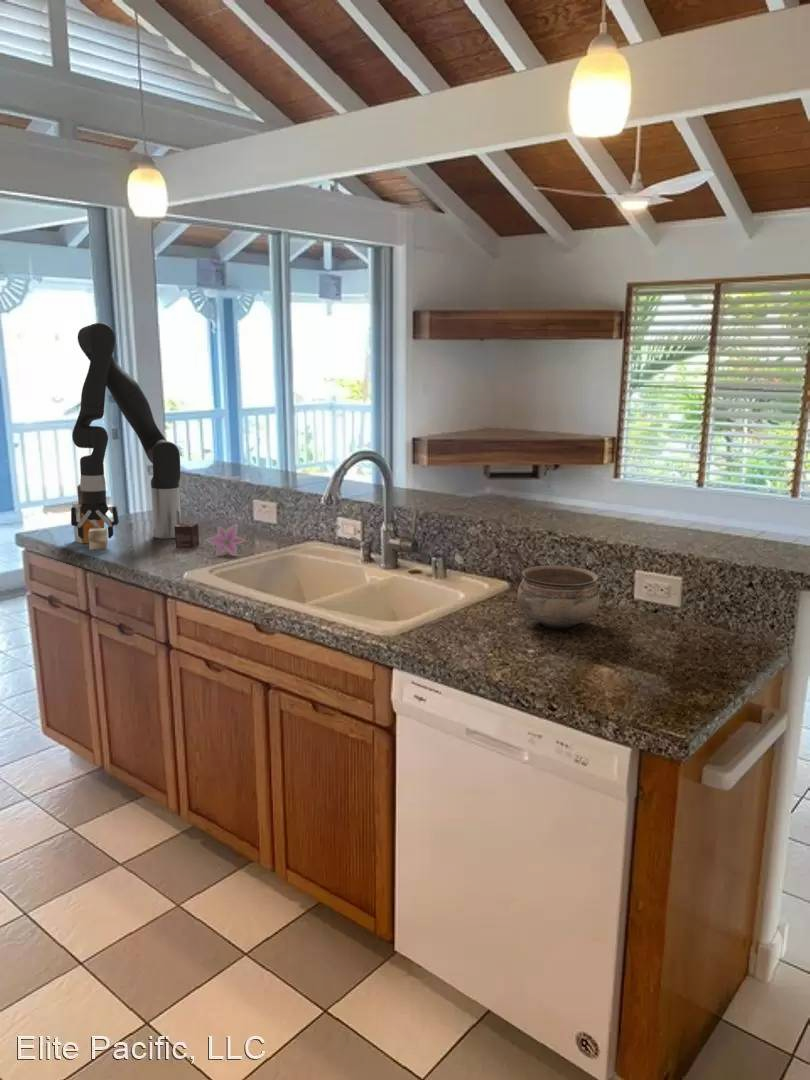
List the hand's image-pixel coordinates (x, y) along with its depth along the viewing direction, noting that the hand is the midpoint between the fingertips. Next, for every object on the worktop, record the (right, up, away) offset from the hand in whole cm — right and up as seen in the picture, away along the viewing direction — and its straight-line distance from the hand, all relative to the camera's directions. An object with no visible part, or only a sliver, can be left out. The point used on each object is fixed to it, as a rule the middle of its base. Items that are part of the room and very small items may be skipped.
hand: (96, 538), depth 261 cm
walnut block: (-6, +12, +7) cm, 15 cm away
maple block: (+1, -3, 0) cm, 3 cm away
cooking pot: (+136, -21, -71) cm, 155 cm away
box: (+29, -3, +4) cm, 29 cm away
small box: (-6, -1, +10) cm, 12 cm away
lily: (+44, -5, -5) cm, 44 cm away
